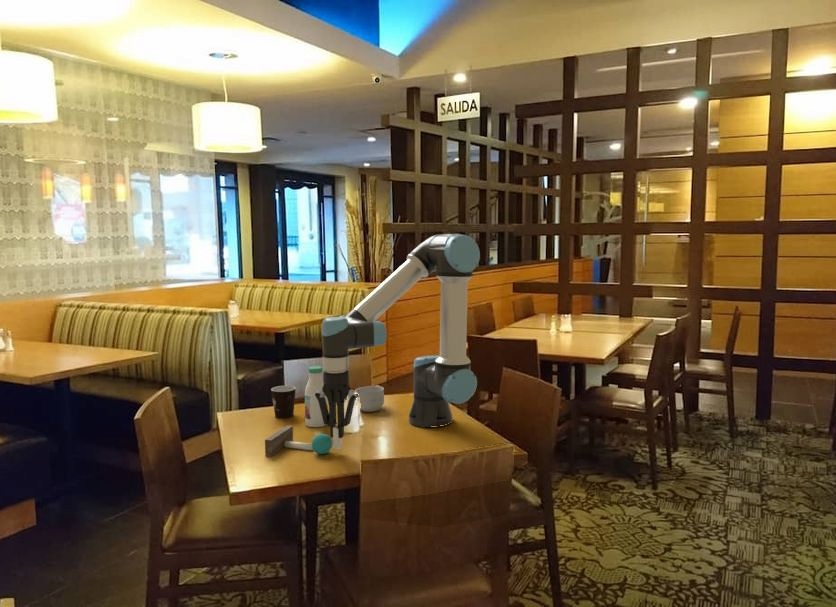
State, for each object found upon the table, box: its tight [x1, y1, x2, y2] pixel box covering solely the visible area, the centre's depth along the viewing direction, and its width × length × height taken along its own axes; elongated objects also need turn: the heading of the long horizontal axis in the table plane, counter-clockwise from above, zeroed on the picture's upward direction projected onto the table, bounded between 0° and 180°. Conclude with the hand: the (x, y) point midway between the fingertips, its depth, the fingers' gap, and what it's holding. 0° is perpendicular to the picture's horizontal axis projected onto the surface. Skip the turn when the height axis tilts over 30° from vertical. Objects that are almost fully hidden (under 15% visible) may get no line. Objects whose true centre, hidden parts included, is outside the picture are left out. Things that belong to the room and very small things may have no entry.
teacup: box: [354, 385, 385, 413], centre depth 236 cm, size 14×11×8 cm
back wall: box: [264, 425, 294, 458], centre depth 194 cm, size 2×14×5 cm, turn 165°
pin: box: [284, 441, 314, 451], centre depth 194 cm, size 2×2×9 cm
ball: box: [311, 433, 333, 455], centre depth 189 cm, size 6×6×6 cm
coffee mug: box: [270, 385, 297, 420], centre depth 226 cm, size 12×9×10 cm
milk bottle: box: [304, 365, 329, 428], centre depth 217 cm, size 8×8×20 cm
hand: (337, 447), depth 189 cm, fingers closed
